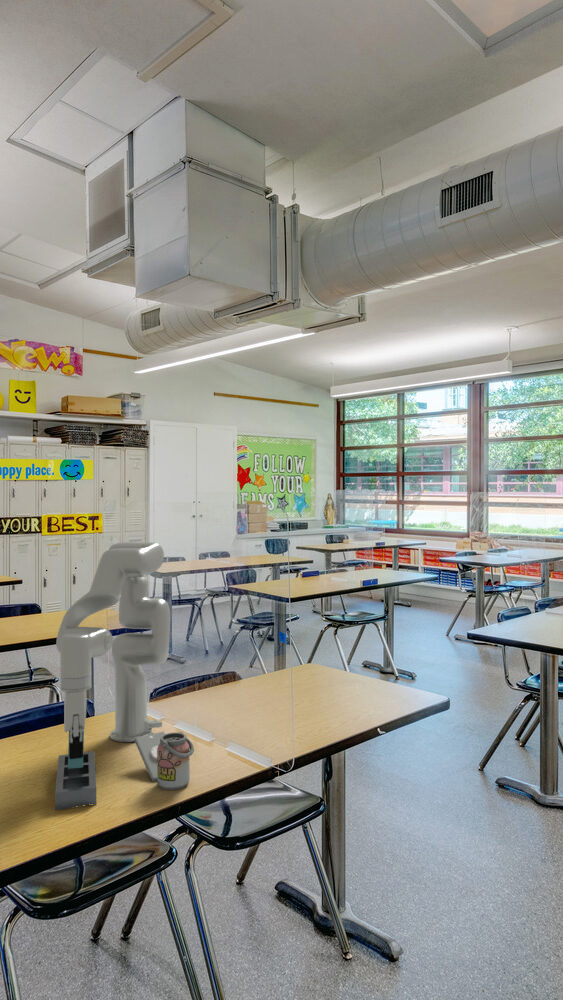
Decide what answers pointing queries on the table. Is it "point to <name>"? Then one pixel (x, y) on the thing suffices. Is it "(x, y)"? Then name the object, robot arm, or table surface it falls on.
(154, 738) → the light switch
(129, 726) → the robot arm
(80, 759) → the square peg
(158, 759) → the beverage can
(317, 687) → the table surface
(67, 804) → the hole rail
